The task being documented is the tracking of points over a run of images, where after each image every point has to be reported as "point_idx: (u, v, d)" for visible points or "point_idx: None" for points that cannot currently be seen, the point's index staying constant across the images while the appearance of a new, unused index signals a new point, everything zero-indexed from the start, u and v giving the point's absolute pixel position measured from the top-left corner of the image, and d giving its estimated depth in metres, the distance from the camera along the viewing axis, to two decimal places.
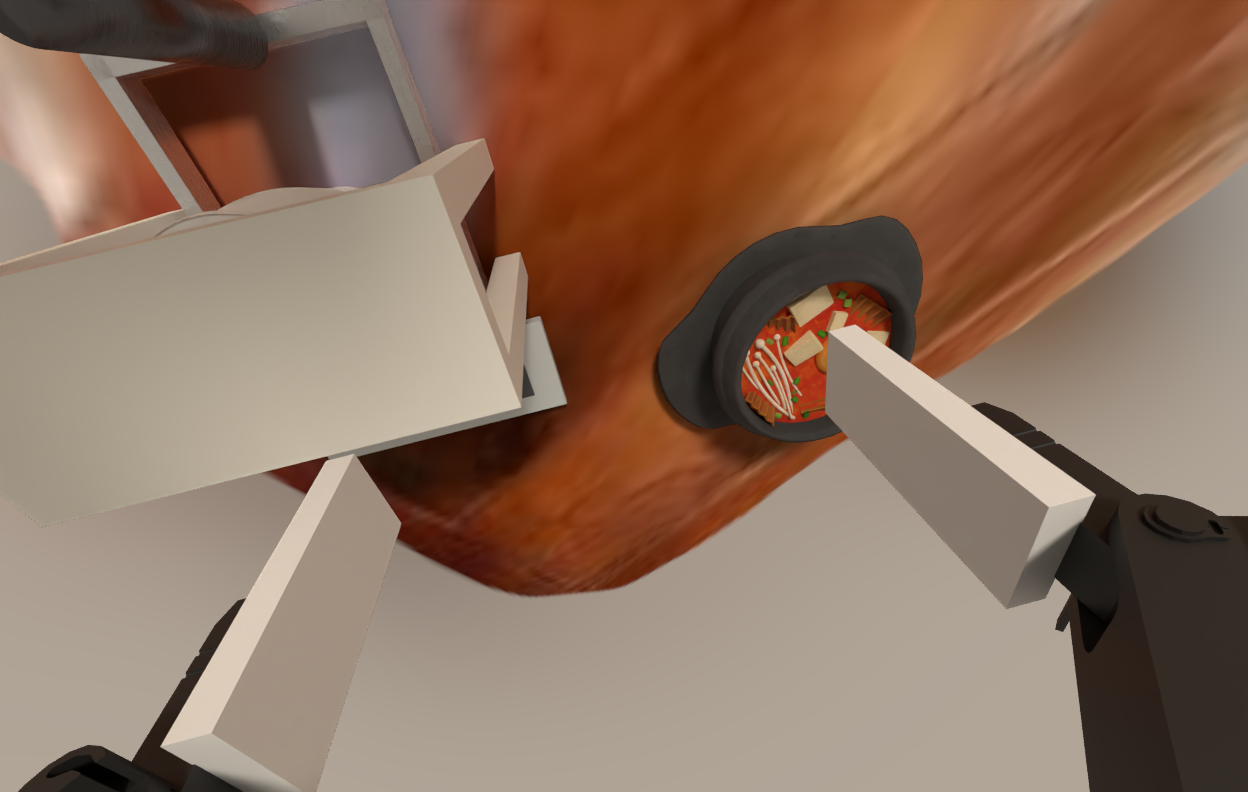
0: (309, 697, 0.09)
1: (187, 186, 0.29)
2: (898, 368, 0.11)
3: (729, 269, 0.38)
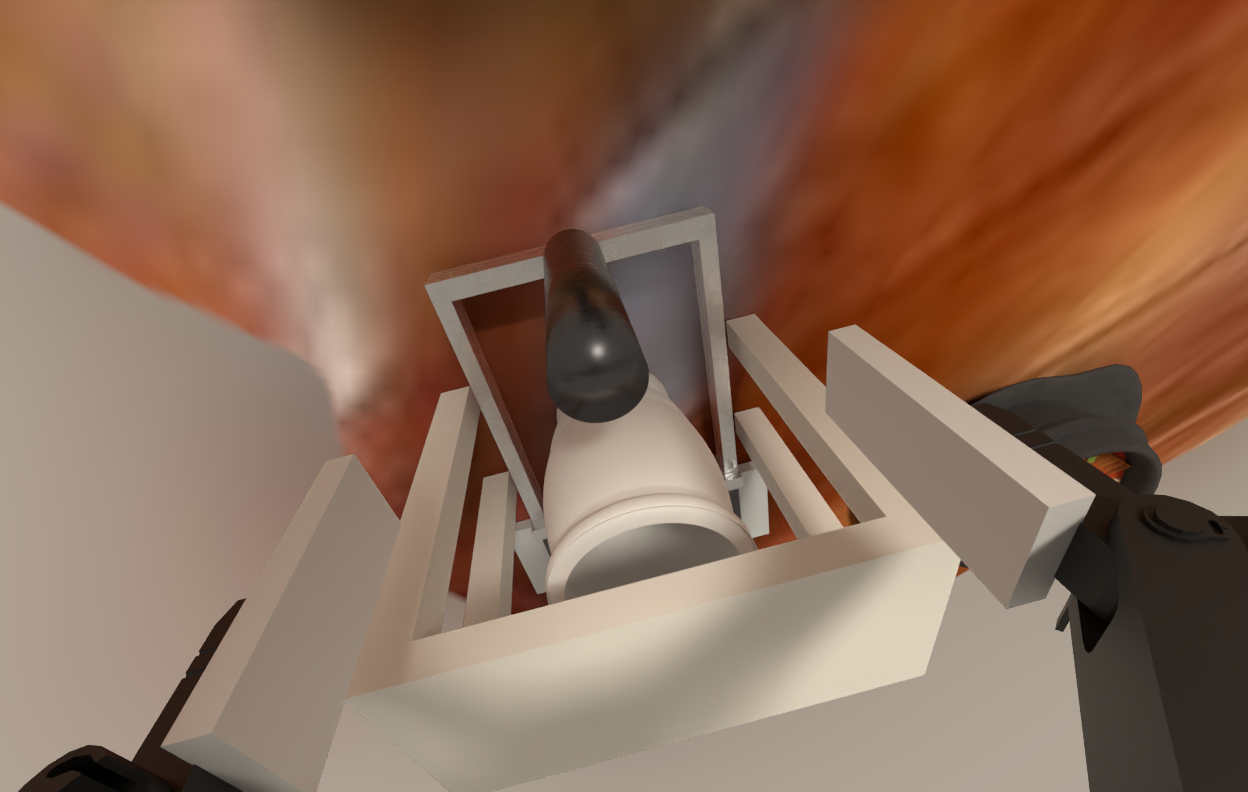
0: (309, 697, 0.09)
1: (488, 386, 0.29)
2: (898, 368, 0.11)
3: None
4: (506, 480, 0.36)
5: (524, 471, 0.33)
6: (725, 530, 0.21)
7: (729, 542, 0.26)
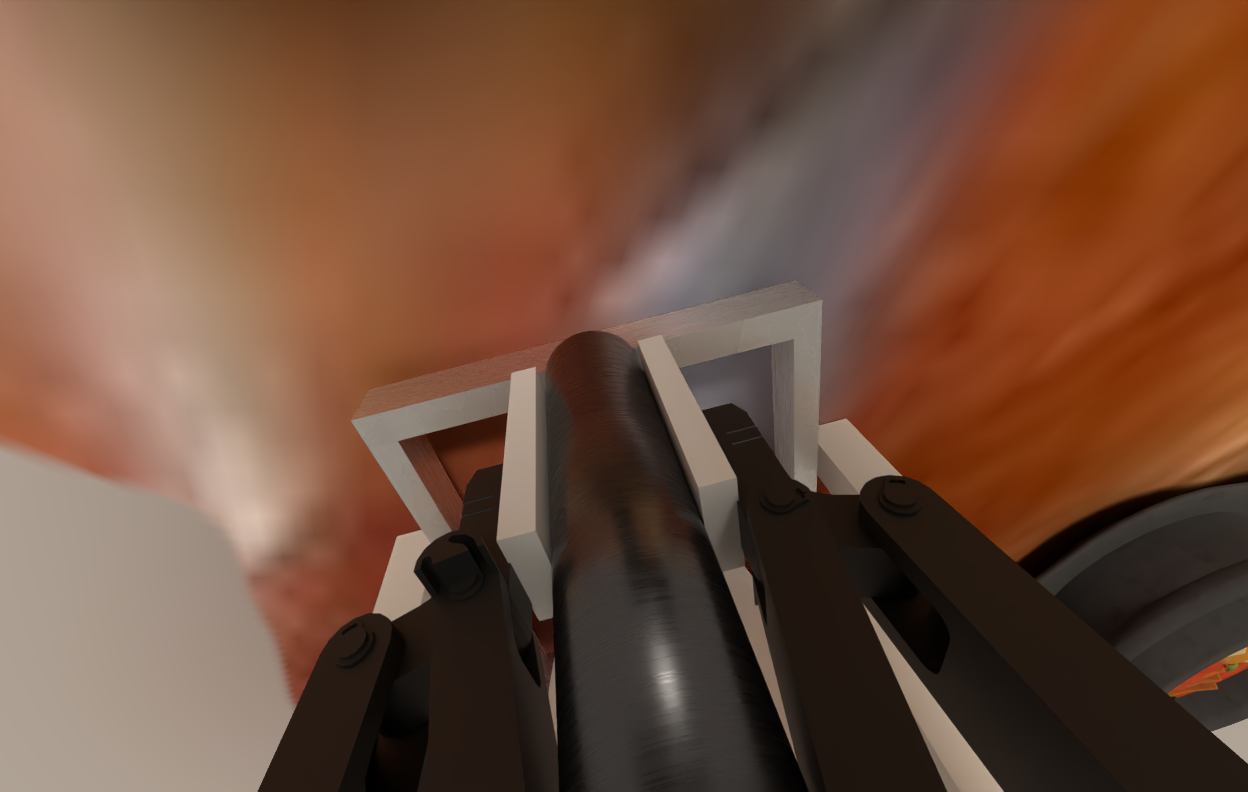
0: None
1: None
2: (668, 373, 0.13)
3: (1108, 538, 0.28)
4: None
5: None
6: None
7: None
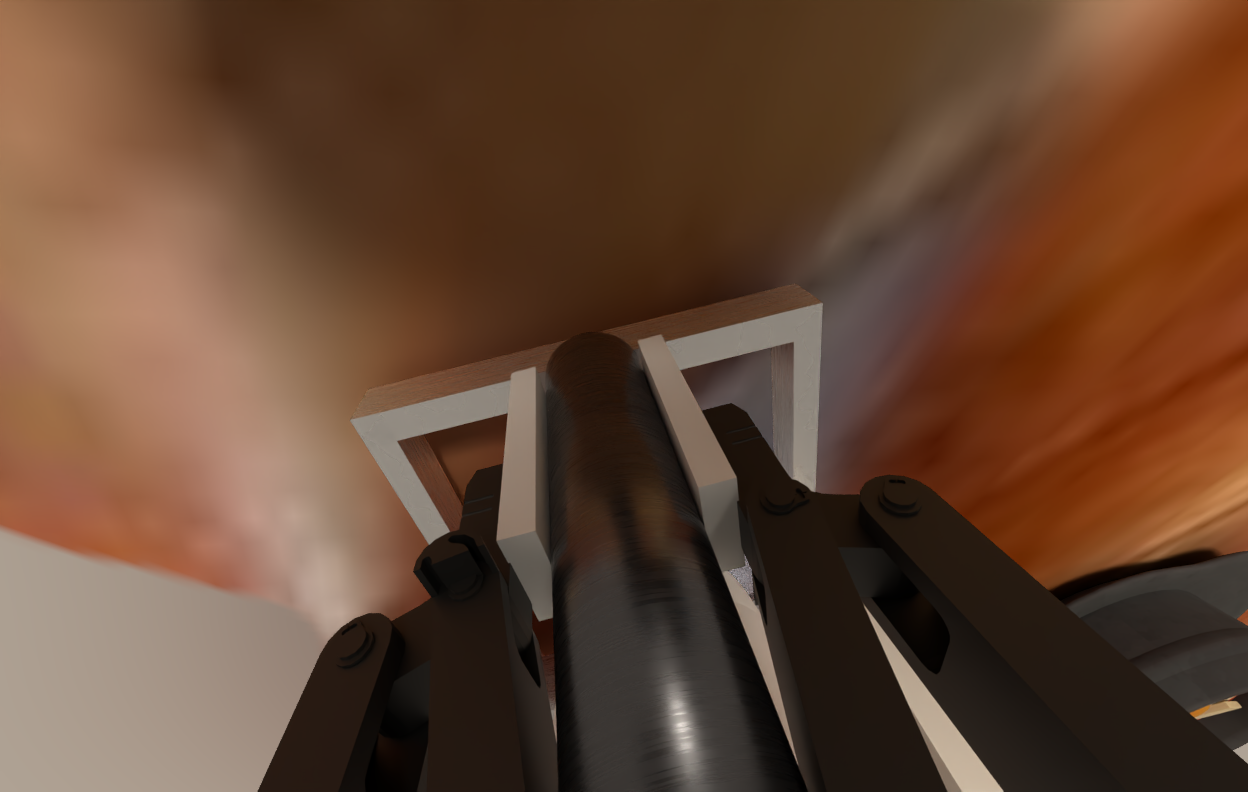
0: None
1: None
2: (668, 373, 0.13)
3: None
4: None
5: None
6: None
7: None
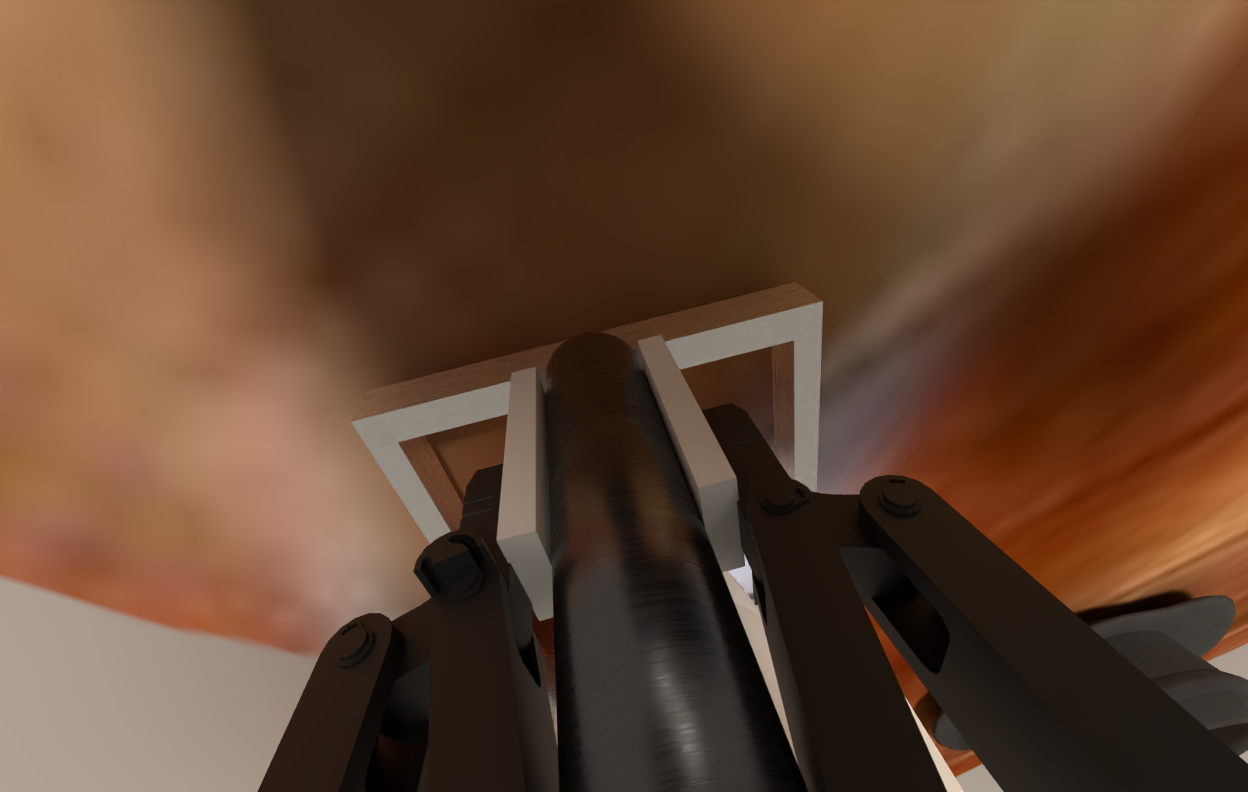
0: None
1: None
2: (668, 373, 0.13)
3: None
4: None
5: None
6: None
7: None
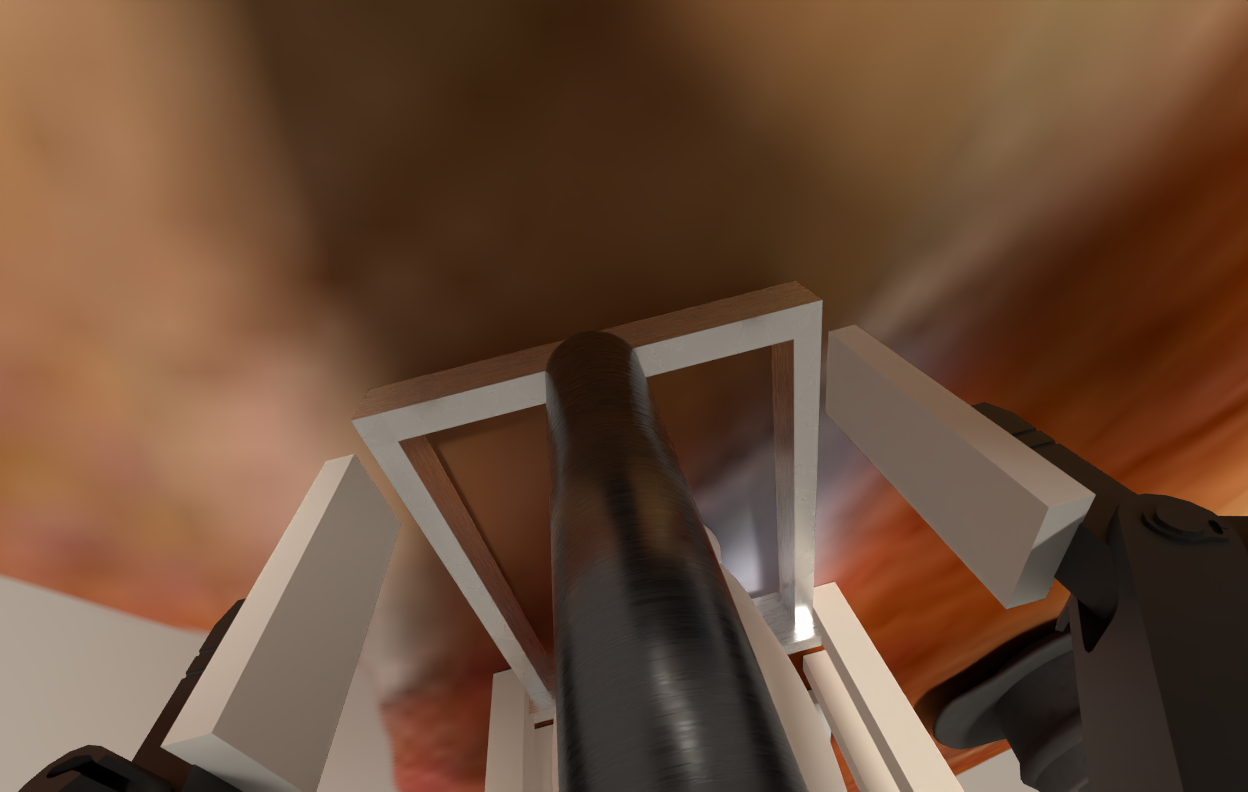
0: (309, 697, 0.09)
1: (462, 546, 0.19)
2: (898, 368, 0.11)
3: (1046, 652, 0.35)
4: None
5: (517, 642, 0.23)
6: None
7: None
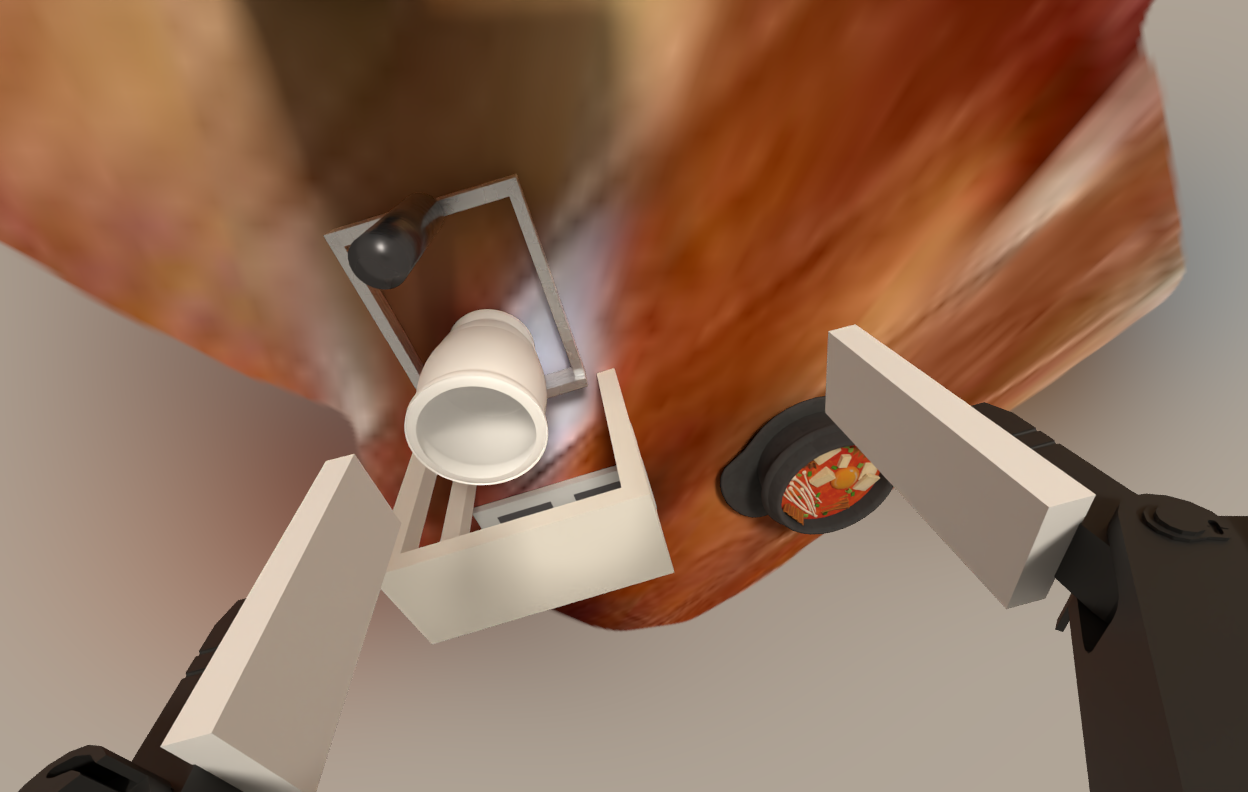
0: (309, 697, 0.09)
1: (381, 309, 0.42)
2: (898, 368, 0.11)
3: (769, 425, 0.57)
4: None
5: (419, 376, 0.46)
6: (506, 390, 0.34)
7: (543, 413, 0.39)
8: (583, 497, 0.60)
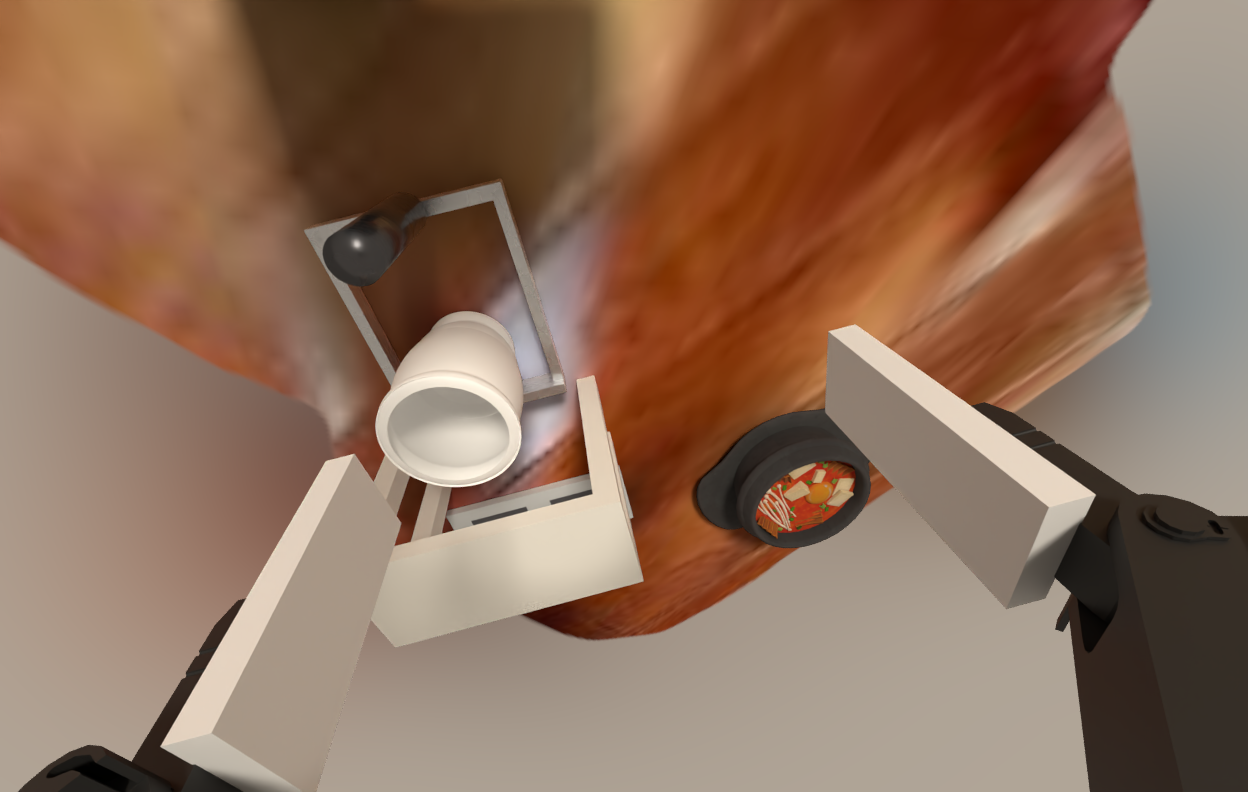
0: (309, 697, 0.09)
1: (359, 306, 0.42)
2: (898, 368, 0.11)
3: (747, 438, 0.58)
4: None
5: None
6: (480, 392, 0.34)
7: (518, 417, 0.39)
8: None
